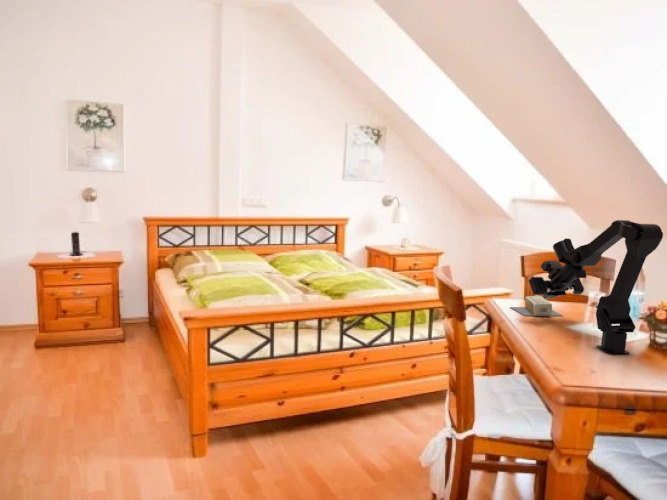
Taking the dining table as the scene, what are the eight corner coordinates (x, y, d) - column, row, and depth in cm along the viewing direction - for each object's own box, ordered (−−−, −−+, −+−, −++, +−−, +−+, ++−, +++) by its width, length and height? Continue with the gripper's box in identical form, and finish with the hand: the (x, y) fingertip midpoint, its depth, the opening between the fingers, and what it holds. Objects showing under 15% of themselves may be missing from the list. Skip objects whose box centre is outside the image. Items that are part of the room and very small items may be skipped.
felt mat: (562, 316, 194) (562, 315, 194) (524, 316, 192) (524, 315, 192) (546, 308, 205) (546, 307, 205) (510, 308, 203) (510, 307, 203)
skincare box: (552, 315, 191) (542, 306, 203) (552, 303, 190) (542, 295, 202) (534, 316, 192) (524, 307, 204) (533, 304, 191) (524, 296, 203)
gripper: (582, 254, 184) (559, 278, 197) (534, 254, 180) (513, 278, 192) (595, 281, 178) (570, 305, 190) (546, 282, 174) (523, 305, 186)
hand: (544, 297), depth 190 cm, fingers closed
